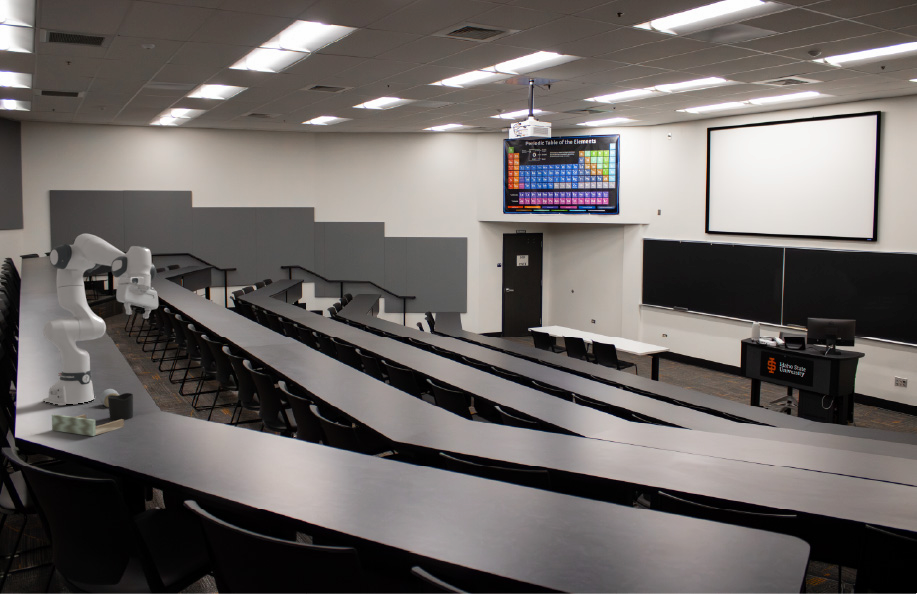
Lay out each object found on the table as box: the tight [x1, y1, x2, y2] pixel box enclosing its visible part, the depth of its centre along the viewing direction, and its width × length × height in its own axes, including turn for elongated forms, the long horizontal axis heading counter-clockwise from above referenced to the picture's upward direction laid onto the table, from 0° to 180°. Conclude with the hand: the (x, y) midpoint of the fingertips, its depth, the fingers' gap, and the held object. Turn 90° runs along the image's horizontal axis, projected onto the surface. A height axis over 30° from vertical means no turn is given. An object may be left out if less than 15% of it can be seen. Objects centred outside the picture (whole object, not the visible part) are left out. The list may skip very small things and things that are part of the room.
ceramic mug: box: [99, 388, 120, 408], centre depth 311 cm, size 11×8×8 cm
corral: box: [51, 413, 125, 437], centre depth 273 cm, size 21×15×6 cm
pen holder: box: [108, 392, 134, 422], centre depth 288 cm, size 9×9×10 cm
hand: (137, 316), depth 282 cm, fingers open, 8 cm apart
